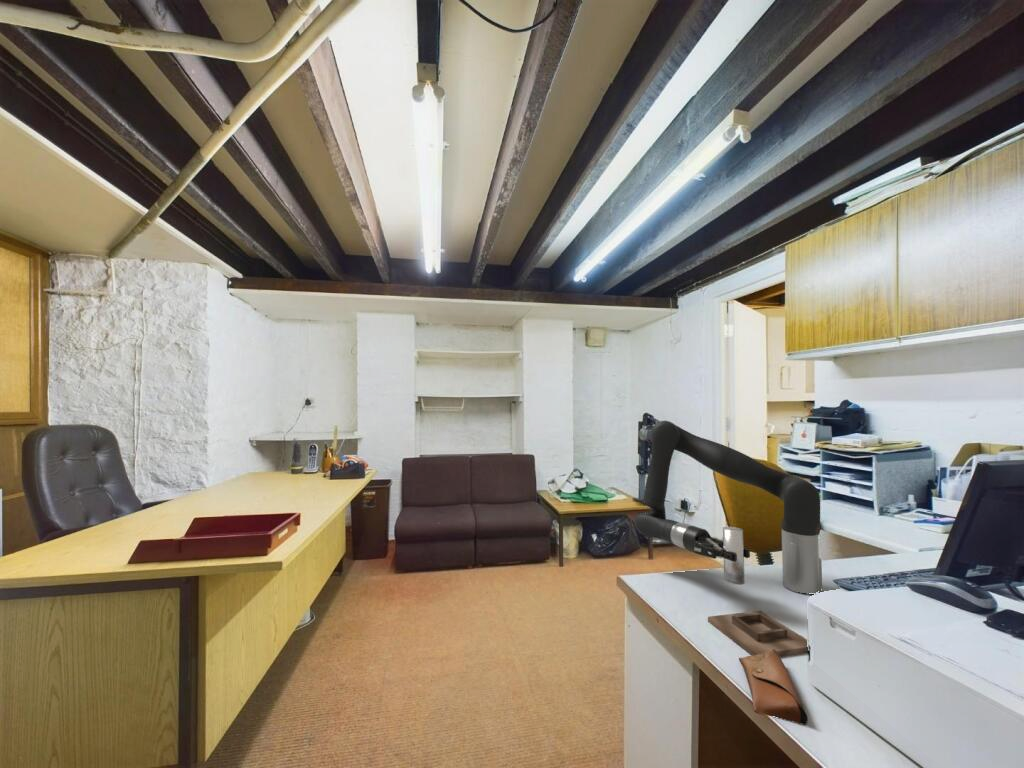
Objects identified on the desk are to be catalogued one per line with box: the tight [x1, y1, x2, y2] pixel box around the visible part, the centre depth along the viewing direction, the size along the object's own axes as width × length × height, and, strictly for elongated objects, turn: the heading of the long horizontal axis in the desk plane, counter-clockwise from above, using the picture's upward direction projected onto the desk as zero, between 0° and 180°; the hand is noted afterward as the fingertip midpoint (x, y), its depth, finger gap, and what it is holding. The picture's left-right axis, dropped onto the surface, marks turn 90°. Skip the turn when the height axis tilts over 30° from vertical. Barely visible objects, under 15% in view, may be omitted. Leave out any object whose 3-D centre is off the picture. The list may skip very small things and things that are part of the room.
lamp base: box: [707, 610, 808, 658], centre depth 99 cm, size 16×16×3 cm
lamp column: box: [722, 526, 745, 586], centre depth 113 cm, size 5×5×14 cm
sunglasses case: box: [738, 649, 809, 726], centre depth 81 cm, size 18×7×7 cm
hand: (742, 556), depth 111 cm, fingers closed on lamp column, 5 cm apart
